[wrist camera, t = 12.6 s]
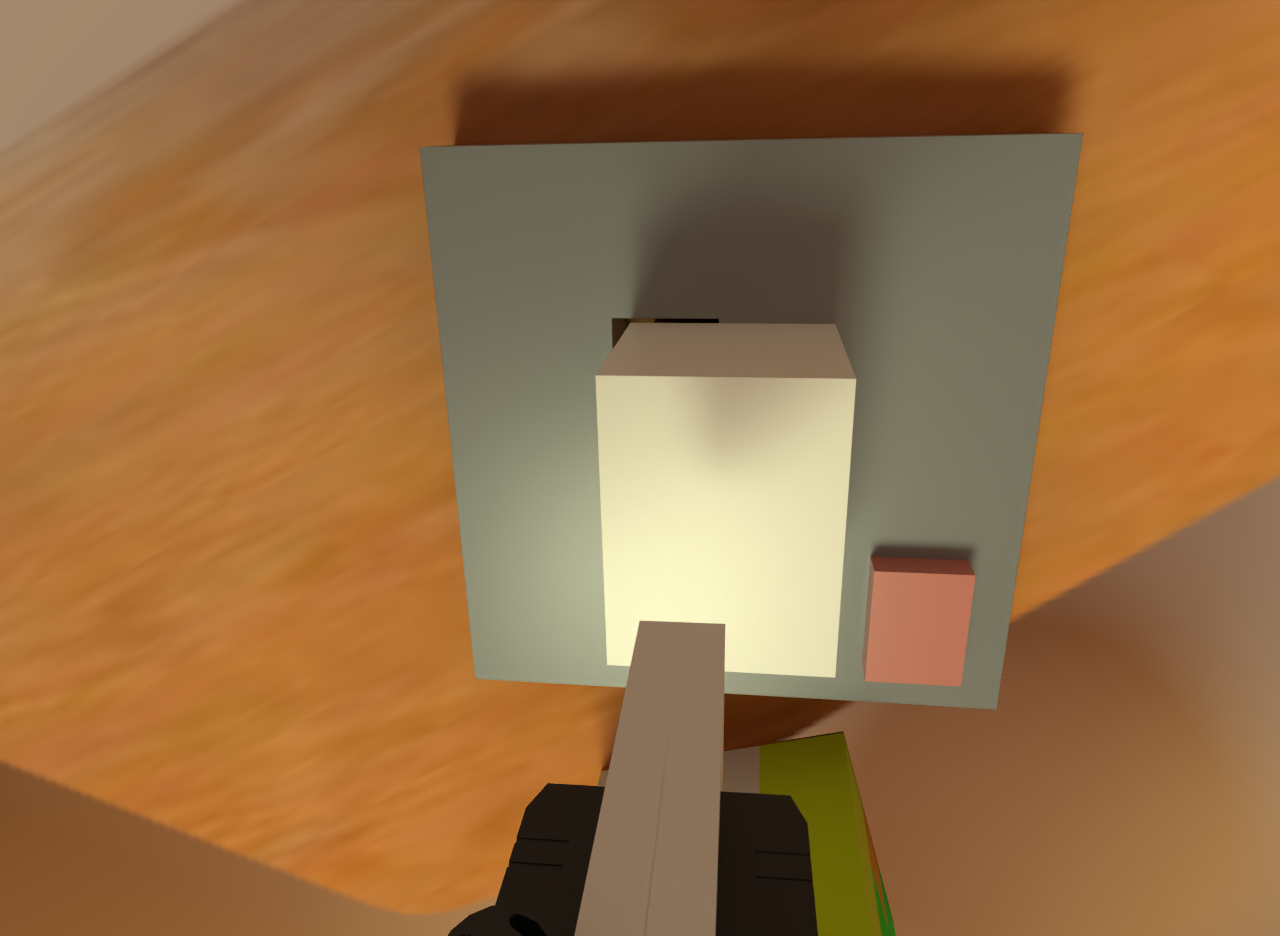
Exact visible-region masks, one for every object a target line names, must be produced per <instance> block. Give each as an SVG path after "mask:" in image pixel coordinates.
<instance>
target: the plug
mask: <svg viewBox="0 0 1280 936" xmlns="http://www.w3.org/2000/svg"><path fill="white" fill-rule="evenodd" d="M595 377H596V402H597V427H598V452H599V476H600V501H601V526H602V550H603V575H604V600H605V624H606V649H607V665H616V666H630V665H631V660H632V655H633V650H634V645H635V641H636V636H637V631H638V626H639V621H665V622H691V623H717V624H725V672H742V673H760V674H778V675H796V676H814V677H832V678H835V675H836V660H837V646H838V632H839V617H840V603H841V589H842V575H843V560H844V546H845V532H846V518H847V503H848V489H849V475H850V461H851V446H852V432H853V418H854V403H855V389H856V377H855V374H854V372H853V369H852V366H851V364H850V361H849V359H848V356H847V353H846V351H845V348H844V345H843V343H842V340H841V337H840V335H839V332H838V330H837V327H836V324H763V323H630V324H629V326H628V327H627V329H626V330H625V332H624V333H623V335H622V336H621V338H620V339H619V341H618V342H617V344H616V345H615V347H614V348H613V350H612V351H611V353H610V354H609V356H608V357H607V359H606V360H605V362H604V363H603V365H602V366H601V368H600V369H599V371H598V372H597V374H596V375H595Z"/></svg>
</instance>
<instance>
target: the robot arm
mask: <svg viewBox="0 0 1280 936" xmlns="http://www.w3.org/2000/svg"><path fill="white" fill-rule="evenodd" d="M724 681H725V624H717V623H691V622H665V621H639V626H638V631H637V636H636V641H635V645H634V650H633V655H632V660H631V665H630V670H629V674H628V679H627V684H626V689H625V694H624V699H623V703H622V708H621V713H620V718H619V723H618V728H617V732H616V737H615V742H614V747H613V752H612V757H611V761H610V766H609V771H608V776H607V781H606V786H605V787H601V786H584V785H568V784H551V783H548V784H547V785H546V786H545V787H544V788H543V789H542V791H541V792H540V793H539V794H538V795H537V796H536V797H535V798H534V799H533V801H532V802H531V803H530V804H529V805H528V806H527V807H526V810H525V813H524V816H523V819H522V822H521V825H520V829H519V832H518V835H517V841H516V843H515V844H514V847H513V851H512V854H511V857H510V860H509V867H507V870H506V873H505V876H504V879H503V882H502V885H501V889H500V892H499V895H498V898H497V901H496V905H495V906H490V907H488V908H485V909H483V910H481V911H478V912H476V913H473V914H471V915H469V916H468V917H467V918H465V919H464V920H463V921H462V922H461V923H459V924H458V925H457V926H456V927H455V928H453V929H452V930H451V931H450V933H449V935H448V936H818V929H817V918H816V907H815V897H814V886H813V875H812V865H811V859H810V843H809V833H808V823H807V821H806V820H805V818H804V817H803V815H802V813H801V812H800V810H799V809H798V807H797V805H796V804H795V802H794V801H793V799H792V797H791V796H790V795H775V794H758V793H741V792H724V791H722V780H723V742H724Z"/></svg>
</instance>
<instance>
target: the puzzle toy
mask: <svg viewBox="0 0 1280 936" xmlns="http://www.w3.org/2000/svg"><path fill="white" fill-rule="evenodd" d="M608 771H609V770H603V771H601V774H600V778H599V782H598V786H601V787H605V786H606V781H607V776H608ZM722 791H724V792H741V793H758V794H775V795H790V796H791V797H792V799H793V801H794V802H795V804H796V805H797V807H798V809H799V810H800V812H801V813H802V815H803V817H804V818H805V820H806V821H807V823H808V833H809V843H810V859H811V865H812V875H813V886H814V897H815V907H816V918H817V929H818V936H896V935H895V929H894V923H893V919H892V915H891V911H890V908H889V904H888V900H887V896H886V892H885V888H884V885H883V881H882V877H881V873H880V870H879V866H878V862H877V858H876V854H875V850H874V846H873V843H872V839H871V835H870V831H869V827H868V824H867V820H866V816H865V812H864V808H863V805H862V801H861V797H860V793H859V790H858V786H857V782H856V778H855V774H854V771H853V766H852V763H851V759H850V755H849V751H848V748H847V744H846V740H845V736H844V732H843V731H841V732H836V733H829V734H822V735H816V736H810V737H804V738H797V739H791V740H787V741H786V742H780V743H774V744H767V745H761V746H755V747H748V748H742V749H736V750H729V751H723V780H722Z"/></svg>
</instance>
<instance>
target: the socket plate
mask: <svg viewBox="0 0 1280 936" xmlns="http://www.w3.org/2000/svg"><path fill="white" fill-rule="evenodd" d="M1082 136H1083V133H1013V134H965V135H917V136H869V137H820V138H772V139H724V140H676V141H628V142H580V143H532V144H484V145H447V146H431V147H420V154H421V163H422V173H423V182H424V192H425V201H426V211H427V220H428V230H429V240H430V249H431V259H432V268H433V278H434V287H435V297H436V306H437V316H438V326H439V335H440V345H441V354H442V364H443V373H444V383H445V392H446V402H447V411H448V421H449V431H450V440H451V450H452V459H453V469H454V478H455V488H456V497H457V507H458V516H459V526H460V536H461V545H462V555H463V564H464V574H465V583H466V593H467V602H468V612H469V621H470V631H471V641H472V650H473V660H474V669H475V679H490V680H507V681H524V682H541V683H558V684H575V685H592V686H609V687H626V684H627V679H628V674H629V670H630V666H616V665H607V649H606V624H605V600H604V575H603V550H602V526H601V501H600V476H599V452H598V427H597V402H596V377H595V375H596V374H597V372H598V371H599V369H600V368H601V366H602V365H603V363H604V362H605V360H606V359H607V357H608V356H609V354H610V353H611V351H612V350H613V348H614V347H615V345H616V344H617V342H618V341H619V339H620V338H621V336H622V335H623V333H624V332H625V330H626V329H627V325H626V318H692V319H719V323H763V324H836V327H837V330H838V332H839V335H840V337H841V340H842V343H843V345H844V348H845V351H846V353H847V356H848V359H849V361H850V364H851V366H852V369H853V372H854V374H855V377H856V389H855V403H854V418H853V432H852V446H851V461H850V475H849V489H848V503H847V518H846V532H845V546H844V560H843V575H842V589H841V603H840V617H839V632H838V646H837V660H836V675H835V678H832V677H814V676H796V675H778V674H760V673H742V672H725V681H724V693H728V694H745V695H762V696H779V697H796V698H813V699H830V700H847V701H864V702H881V703H898V704H917V705H933V706H951V707H968V708H985V709H996V708H997V701H998V694H999V688H1000V681H1001V674H1002V668H1003V661H1004V654H1005V648H1006V641H1007V634H1008V628H1009V621H1010V615H1011V608H1012V601H1013V595H1014V588H1015V581H1016V575H1017V568H1018V561H1019V555H1020V548H1021V542H1022V535H1023V528H1024V522H1025V515H1026V508H1027V502H1028V495H1029V488H1030V482H1031V475H1032V468H1033V462H1034V455H1035V449H1036V442H1037V435H1038V429H1039V422H1040V415H1041V409H1042V402H1043V395H1044V389H1045V382H1046V376H1047V369H1048V362H1049V356H1050V349H1051V342H1052V336H1053V329H1054V322H1055V316H1056V309H1057V302H1058V296H1059V289H1060V283H1061V276H1062V269H1063V263H1064V256H1065V249H1066V243H1067V236H1068V229H1069V223H1070V216H1071V209H1072V203H1073V196H1074V190H1075V183H1076V176H1077V170H1078V163H1079V156H1080V150H1081V143H1082Z"/></svg>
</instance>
